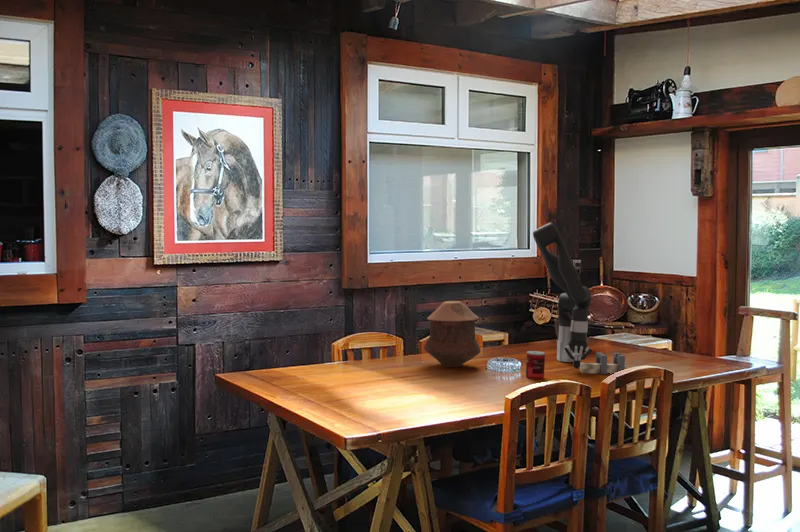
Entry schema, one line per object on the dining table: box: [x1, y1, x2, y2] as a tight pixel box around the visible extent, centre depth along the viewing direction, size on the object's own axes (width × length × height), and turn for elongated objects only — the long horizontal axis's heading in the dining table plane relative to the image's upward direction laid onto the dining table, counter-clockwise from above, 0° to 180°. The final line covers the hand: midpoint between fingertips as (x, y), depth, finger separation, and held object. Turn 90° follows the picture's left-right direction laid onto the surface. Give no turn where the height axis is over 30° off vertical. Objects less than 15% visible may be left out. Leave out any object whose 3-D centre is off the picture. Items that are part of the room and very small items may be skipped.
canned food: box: [525, 350, 546, 380], centre depth 335 cm, size 8×8×11 cm
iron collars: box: [594, 351, 626, 375], centre depth 351 cm, size 10×9×8 cm
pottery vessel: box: [423, 300, 481, 368], centre depth 356 cm, size 26×26×30 cm
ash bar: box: [579, 362, 628, 375], centre depth 350 cm, size 20×4×4 cm, turn 89°
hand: (576, 368), depth 351 cm, fingers closed
